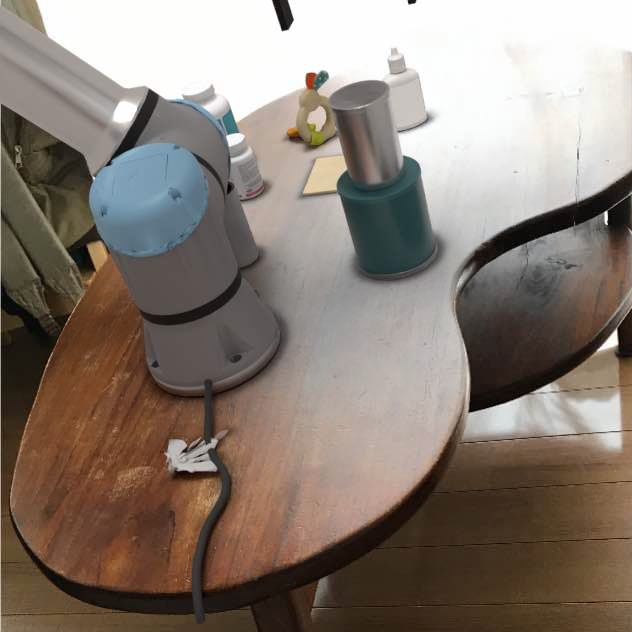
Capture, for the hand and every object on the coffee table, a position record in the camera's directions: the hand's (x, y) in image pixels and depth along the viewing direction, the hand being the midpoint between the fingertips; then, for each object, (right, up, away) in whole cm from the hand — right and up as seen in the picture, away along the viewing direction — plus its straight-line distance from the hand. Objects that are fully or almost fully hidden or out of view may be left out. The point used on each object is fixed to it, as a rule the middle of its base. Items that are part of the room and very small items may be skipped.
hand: (349, 13), depth 90 cm
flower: (-15, -45, -2) cm, 48 cm away
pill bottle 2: (-15, -11, +38) cm, 42 cm away
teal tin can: (+6, -23, +16) cm, 29 cm away
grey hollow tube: (-14, -23, +24) cm, 36 cm away
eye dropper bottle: (+9, 0, +43) cm, 44 cm away
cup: (+3, -15, +9) cm, 18 cm away
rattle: (-6, -1, +47) cm, 47 cm away
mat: (-1, -9, +35) cm, 37 cm away
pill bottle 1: (-19, -6, +45) cm, 50 cm away
